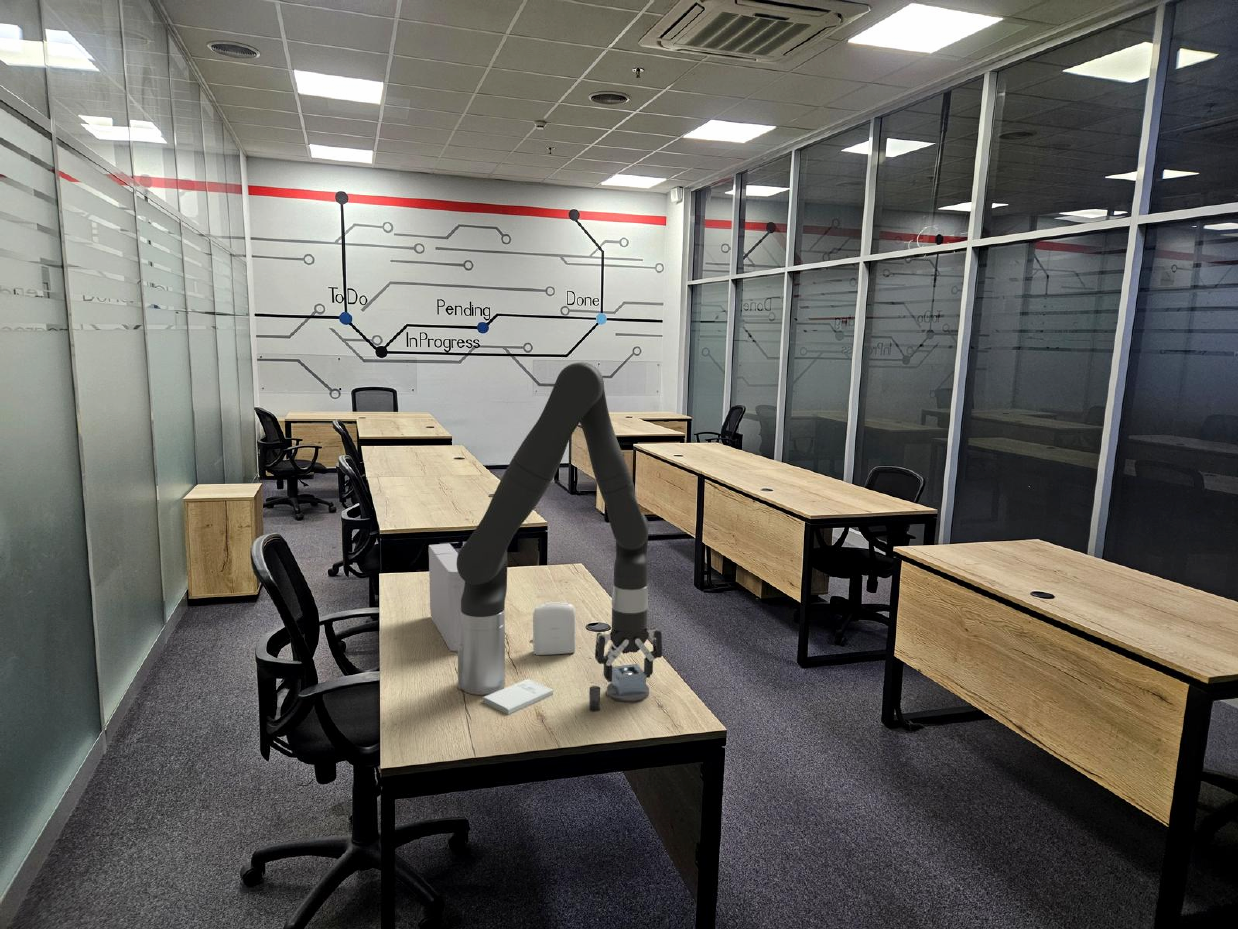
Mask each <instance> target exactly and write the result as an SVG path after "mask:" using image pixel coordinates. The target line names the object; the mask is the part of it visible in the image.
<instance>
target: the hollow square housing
mask: <svg viewBox="0 0 1238 929" xmlns="http://www.w3.org/2000/svg"><path fill="white" fill-rule="evenodd" d="M625 671H632V672H633V674H630V675H623V672H625ZM610 683H611V686H612V687H613V689H614V690H615V692H616V693H617V694H618V696H626V695H634V694H642V693H646V685H647V678H646V674H645V673H644V669H642V667H640V666H639V664H638V663H634V664H633V663H632V664H626V665H624V664H623V665H616V666H615V665H614V666H612V682H610Z"/></svg>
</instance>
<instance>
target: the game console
mask: <svg viewBox="0 0 1238 929" xmlns="http://www.w3.org/2000/svg"><path fill="white" fill-rule="evenodd" d="M458 553H459V552H457V551H456V550H455V548H454V547H453V545H452V544H450V543H449V542H448V543H439V544H429V545H428V572H429V575H428V576H429V607H430V608H429V609H430V617H431V620H432V619H433V620H432V621H433V624H435V626H437V627H436V628H437V631H438V632H439V633H441V634H440V635H441V637H442V638H443V640H444V642H445V644H446V646H447V647H448V648H449V649H448V650H449V651H450V652H458V646H459V645H460V644H461V598H462V594H463V591H464V585H465V581H464V580H463V579H462V578H461V577H460V575H459V573H458V570H457V556H458Z"/></svg>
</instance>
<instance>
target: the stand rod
mask: <svg viewBox="0 0 1238 929" xmlns="http://www.w3.org/2000/svg"><path fill="white" fill-rule="evenodd" d="M588 696H589V697H588V698H589V700H588V701H589V702H588V705H589V706H588V707H589V711H590V712H593V713H595V712H599V711H600V710H601V687H600V686H598V685H592V686H590V687H589V695H588Z"/></svg>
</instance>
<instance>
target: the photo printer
mask: <svg viewBox="0 0 1238 929" xmlns="http://www.w3.org/2000/svg"><path fill="white" fill-rule="evenodd" d="M532 642H533V643H532V647H533V651H532V652H533V654H534V655H535V654H536V656H539V655H540V656H543V655H544V656H545V655H547V656H548V655H549V656H550V655H563V654H565V655H566V654H573V653H575V652H576V611H575V607H574V604H570V603H566V602H557V601H556V602H553V601H552V602H547V603H543V604H542V603H541V604H539V605H537V606H535V607H534V610H533V615H532Z"/></svg>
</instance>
